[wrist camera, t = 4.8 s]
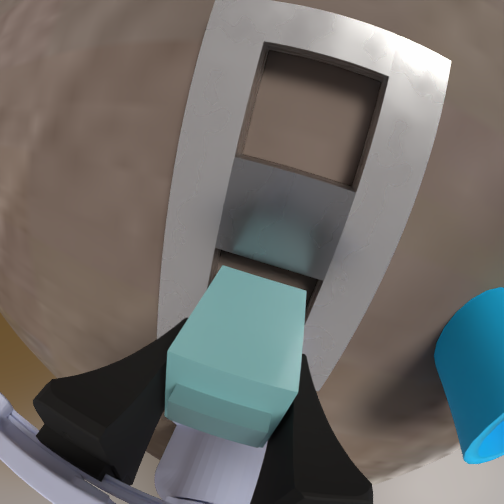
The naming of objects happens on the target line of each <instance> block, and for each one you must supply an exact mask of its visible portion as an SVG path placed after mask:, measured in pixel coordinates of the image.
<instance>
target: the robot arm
mask: <svg viewBox="0 0 504 504" xmlns="http://www.w3.org/2000/svg"><path fill="white" fill-rule="evenodd" d="M187 320H188V318H184V319H183V320H182V321H181V322H179V323H178V324H177V325H176V326H174V327H173V328H172V329H171V330H169V331H168V332H167V333H165V334H164V335H162V336H161V337H159V338H158V339H157V340H155V341H154V342H152V343H151V344H149V345H147V346H146V347H144V348H142V349H141V350H139V351H137V352H136V353H134V354H132V355H130V356H128V357H126V358H124V359H122V360H120V361H117V362H115V363H113V364H110V365H108V366H105V367H103V368H100V369H97V370H93V371H90V372H86V373H83V374H79V375H75V376H70V377H64V378H58V379H52V380H51V381H50V382H49V383H48V384H46V385H45V387H44V388H43V389H42V390H41V391H40V393H39V394H38V395H37V396H36V397H35V399H34V400H33V405H34V407H35V409H36V411H37V413H38V414H39V416H40V417H41V419H42V420H43V422H44V425H43V427H42V428H41V429H40V431H39V430H38V429H37V428H35V427H34V426H33V425H32V424H30V423H29V422H28V421H27V420H26V419H24V418H23V417H22V416H21V415H20V414H18V413H17V412H16V411H15V410H14V409H13V407H12V405H11V404H10V402H9V401H8V400H7V399H6V397H5V396H4V395H3V394H2V393H1V392H0V459H1V460H2V461H3V462H4V463H5V464H6V465H7V466H8V467H9V468H10V469H11V470H12V471H13V472H15V473H16V474H17V475H18V476H19V477H20V478H21V479H23V480H24V481H25V482H26V483H27V484H29V485H30V486H31V487H32V488H33V489H35V490H36V491H37V492H38V493H40V494H41V495H42V496H44V497H45V498H46V499H48V500H49V501H51V502H52V503H53V504H116V503H114V502H113V501H112V500H111V499H110V498H109V496H108V495H107V494H105V493H103V492H102V491H100V490H98V489H97V488H96V487H94V486H93V485H95V486H97V487H98V488H100V489H102V490H104V491H105V492H108V493H110V494H111V495H113V496H115V497H117V498H119V499H121V500H123V501H125V502H127V503H129V504H373V490H372V484H371V482H370V481H369V480H368V479H367V478H366V477H365V476H364V475H363V474H362V473H361V472H360V471H359V469H358V468H357V467H356V466H355V465H354V463H353V462H352V461H351V459H350V458H349V457H348V455H347V454H346V452H345V451H344V449H343V447H342V446H341V444H340V443H339V441H338V440H337V438H336V436H335V434H334V432H333V431H332V429H331V427H330V425H329V423H328V421H327V418H326V416H325V414H324V411H323V409H322V407H321V404H320V401H319V399H318V396H317V393H316V390H315V387H314V384H313V380H312V377H311V373H310V369H309V365H308V361H307V356H306V355H305V354H302V359H301V370H300V380H299V389H298V394H297V395H296V397H295V399H294V400H293V402H292V404H291V405H290V407H289V408H288V410H287V412H286V413H285V415H284V416H283V418H282V420H281V421H280V423H279V424H278V426H277V427H276V429H275V430H274V432H273V433H272V435H271V436H270V438H269V439H268V441H267V442H266V444H265V445H264V447H263V448H260V447H258V448H255V447H251V446H248V445H244V444H240V443H237V442H233V441H230V440H226V439H223V438H220V437H217V436H214V435H210V434H207V433H204V432H202V431H199V430H196V429H193V428H190V427H188V426H185V425H182V424H180V423H177V422H174V421H173V422H174V423H175V424H176V425H177V426H176V428H175V430H174V432H173V434H172V436H171V438H170V441H169V443H168V445H167V447H166V449H165V451H164V453H163V455H162V458H161V460H160V462H159V464H158V466H157V469H156V472H155V487H156V491H157V493H158V494H159V496H160V497H161V499H162V500H161V499H159V498H156V497H154V496H151V495H149V494H147V493H144V492H142V491H140V490H137V489H135V488H133V487H131V486H130V485H132V484H133V482H134V479H135V476H136V473H137V471H138V468H139V466H140V463H141V461H142V458H143V456H144V453H145V451H146V449H147V446H148V444H149V442H150V439H151V437H152V435H153V432H154V430H155V428H156V426H157V423H158V421H159V419H160V417H161V415H162V413H163V411H164V409H165V388H166V367H167V351H168V349H169V348H170V346H171V345H172V343H173V341H174V340H175V338H176V337H177V335H178V334H179V332H180V330H181V329H182V327H183V326H184V324H185V323H186V321H187ZM85 480H86V481H85ZM87 481H88V482H90V483H91V484H93V485H91V484H90V483H88V482H87Z"/></svg>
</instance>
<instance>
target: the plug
mask: <svg viewBox="0 0 504 504" xmlns="http://www.w3.org/2000/svg"><path fill="white" fill-rule="evenodd" d="M305 307H306V291H305V290H302V289H299V288H295V287H292V286H289V285H285V284H282V283H279V282H275V281H272V280H269V279H265V278H262V277H259V276H256V275H252V274H249V273H246V272H243V271H240V270H236V269H233V268H230V267H227V266H224V265H223V266H222V267H221V269H220V270H219V272H218V273H217V275H216V276H215V278H214V279H213V281H212V283H211V284H210V286H209V287H208V289H207V290H206V292H205V293H204V295H203V296H202V298H201V299H200V301H199V303H198V304H197V306H196V307H195V309H194V310H193V312H192V313H191V315H190V316H189V318H188V320H187V321H186V323H185V324H184V326H183V327H182V329H181V330H180V332H179V334H178V335H177V337H176V338H175V340H174V341H173V343H172V345H171V346H170V348H169V349H168V351H167V367H166V388H165V417H167V419H169V420H172V421H174V422H177V423H180V424H182V425H185V426H188V427H190V428H193V429H196V430H199V431H202V432H204V433H207V434H210V435H214V436H217V437H220V438H223V439H226V440H230V441H233V442H237V443H240V444H244V445H248V446H251V447H255V448H258V447H260V448H263V447H264V445H265V444H266V442H267V441H268V439H269V438H270V436H271V435H272V433H273V432H274V430H275V429H276V427H277V426H278V424H279V423H280V421H281V420H282V418H283V416H284V415H285V413H286V412H287V410H288V408H289V407H290V405H291V404H292V402H293V400H294V399H295V397H296V395H297V394H298V389H299V380H300V370H301V359H302V348H303V336H304V322H305Z"/></svg>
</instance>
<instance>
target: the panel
mask: <svg viewBox="0 0 504 504" xmlns="http://www.w3.org/2000/svg"><path fill="white" fill-rule="evenodd" d="M269 50H271V51H277V52H281V53H286V54H291V55H295V56H300V57H304V58H308V59H312V60H316V61H319V62H323V63H327V64H330V65H333V66H337V67H340V68H343V69H346V70H349V71H352V72H355V73H358V74H361V75H364V76H367V77H370V78H372V79H375V80H378V81H380V82H381V86H380V90H379V94H378V98H377V102H376V105H375V109H374V113H373V117H372V120H371V124H370V128H369V131H368V135H367V138H366V142H365V145H364V148H363V152H362V155H361V158H360V162H359V165H358V168H357V171H356V175H355V178H354V181H353V184H352V186H349V185H346V184H343V183H340V182H337V181H334V180H331V179H328V178H324V177H321V176H318V175H315V174H312V173H308V172H305V171H302V170H298V169H295V168H292V167H288V166H285V165H281V164H277V163H274V162H270V161H266V160H263V159H259V158H255V157H251V156H247V155H243V154H242V153H243V149H244V145H245V141H246V136H247V132H248V128H249V124H250V120H251V116H252V112H253V108H254V104H255V100H256V96H257V93H258V89H259V85H260V81H261V77H262V73H263V70H264V66H265V62H266V58H267V55H268V51H269ZM450 66H451V61H450V60H448V59H447V58H445V57H443V56H441V55H439V54H437V53H435V52H433V51H431V50H429V49H427V48H425V47H423V46H421V45H419V44H417V43H415V42H413V41H410V40H408V39H406V38H404V37H401V36H399V35H396V34H394V33H392V32H389V31H386V30H384V29H381V28H379V27H376V26H373V25H370V24H367V23H364V22H361V21H358V20H355V19H352V18H349V17H345V16H342V15H338V14H335V13H331V12H327V11H323V10H319V9H315V8H310V7H305V6H300V5H295V4H290V3H284V2H278V1H271V0H215V3H214V6H213V9H212V12H211V15H210V18H209V22H208V25H207V28H206V31H205V35H204V38H203V42H202V45H201V49H200V52H199V56H198V60H197V63H196V67H195V71H194V75H193V79H192V83H191V87H190V91H189V96H188V100H187V105H186V109H185V114H184V118H183V123H182V128H181V133H180V138H179V143H178V149H177V154H176V160H175V166H174V172H173V178H172V184H171V191H170V198H169V205H168V212H167V220H166V228H165V236H164V245H163V255H162V266H161V277H160V290H159V305H158V324H157V339H158V338H159V337H161V336H162V335H164V334H165V333H167V332H168V331H169V330H171V329H172V328H173V327H174V326H176V325H177V324H178V323H179V322H181V321H182V320H183V319H184V318H189V316H190V315H191V313H192V312H193V310H194V309H195V307H196V306H197V304H198V303H199V301H200V299H201V298H202V296H203V295H204V293H205V292H206V290H207V289H208V287H209V286H210V284H211V283H212V281H213V279H214V278H215V276H216V271H217V266H218V261H219V256H220V252H221V250H224V251H227V252H231V253H234V254H237V255H240V256H244V257H247V258H250V259H253V260H257V261H260V262H263V263H267V264H270V265H273V266H276V267H280V268H283V269H286V270H290V271H293V272H296V273H300V274H303V275H306V276H309V277H313V278H316V279H318V281H317V284H316V286H315V289H314V291H313V294H312V296H311V298H310V301H309V303H308V306H307V308H306V310H305V322H304V336H303V348H302V354H305V355H306V356H307V361H308V365H309V369H310V373H311V377H312V380H313V384H314V387H315V390H316V391H319V390H320V389H321V387H322V385H323V384H324V382H325V381H326V379H327V378H328V376H329V375H330V373H331V371H332V370H333V368H334V367H335V365H336V363H337V362H338V360H339V358H340V357H341V355H342V353H343V352H344V350H345V348H346V346H347V345H348V343H349V341H350V340H351V338H352V336H353V334H354V332H355V331H356V329H357V327H358V325H359V323H360V321H361V320H362V318H363V316H364V314H365V312H366V310H367V308H368V306H369V304H370V302H371V300H372V299H373V297H374V295H375V293H376V290H377V288H378V286H379V284H380V282H381V280H382V278H383V276H384V274H385V272H386V270H387V267H388V265H389V263H390V261H391V258H392V256H393V254H394V252H395V249H396V247H397V245H398V242H399V240H400V238H401V235H402V233H403V230H404V228H405V225H406V223H407V220H408V218H409V215H410V212H411V210H412V207H413V204H414V202H415V199H416V196H417V193H418V190H419V188H420V185H421V182H422V179H423V176H424V173H425V169H426V166H427V163H428V160H429V156H430V153H431V150H432V146H433V143H434V139H435V135H436V132H437V128H438V124H439V120H440V116H441V111H442V107H443V103H444V98H445V93H446V88H447V83H448V77H449V72H450Z"/></svg>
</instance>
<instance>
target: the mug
mask: <svg viewBox="0 0 504 504" xmlns="http://www.w3.org/2000/svg"><path fill="white" fill-rule="evenodd" d="M434 359H435V365H436V368H437V371H438V374H439V377H440V380H441V382H442V385H443V388H444V391H445V394H446V397H447V400H448V403H449V407H450V410H451V413H452V417H453V420H454V423H455V427H456V431H457V434H458V438H459V442H460V446H461V450H462V454H463V459H464V461H465V462H467V463H468V464H480V463H484V462H487V461H491V460H493V459H496V458H498V457H500V456H502V455H504V288H502V287H500V288H495V289H491V290H487V291H485V292H483V293H481V294H480V295H478V296H476V297H474V298H472V299H471V300H470V301H469V302H467V303H466V304H465V305H464V306H463V307H462V308H461V309H459V310H458V311H457V312H456V313H455V315H454V316H453V317H452V318H451V320H450V321H449V322H448V323H447V325H446V326H445V327H444V329H443V331H442V333H441V335H440V337H439V339H438V341H437V343H436V348H435V353H434Z"/></svg>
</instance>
